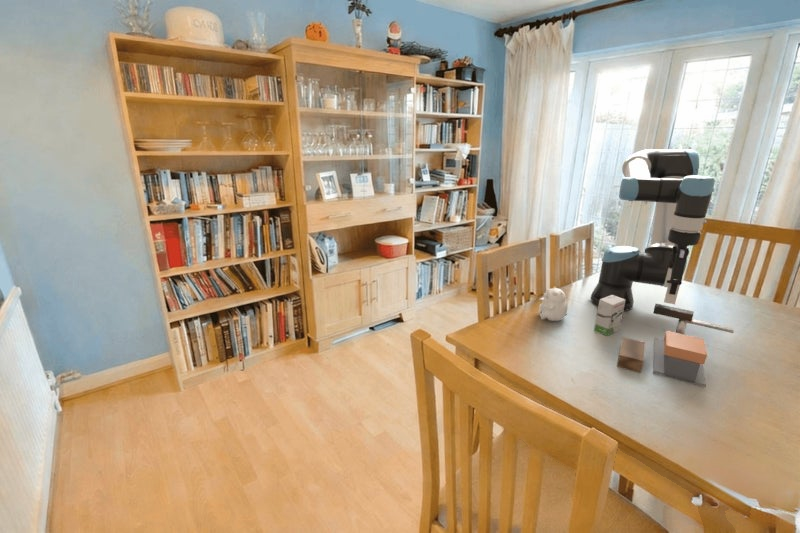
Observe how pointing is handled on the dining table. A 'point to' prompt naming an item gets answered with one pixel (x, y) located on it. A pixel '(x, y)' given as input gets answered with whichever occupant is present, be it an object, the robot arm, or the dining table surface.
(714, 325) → the grey t-shaped piece
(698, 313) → the dining table surface
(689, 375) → the block
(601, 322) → the ink box
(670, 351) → the cover
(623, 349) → the brown wooden block
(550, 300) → the figurine
